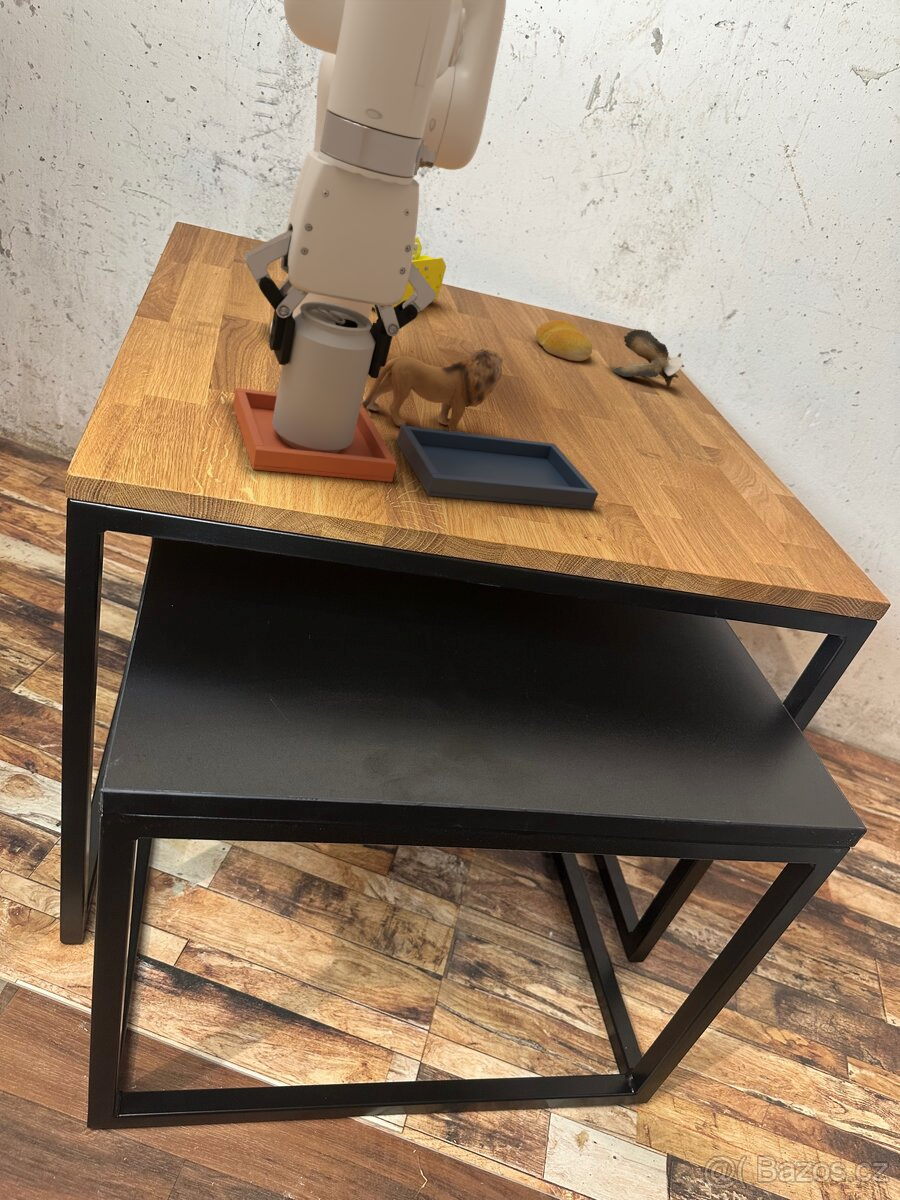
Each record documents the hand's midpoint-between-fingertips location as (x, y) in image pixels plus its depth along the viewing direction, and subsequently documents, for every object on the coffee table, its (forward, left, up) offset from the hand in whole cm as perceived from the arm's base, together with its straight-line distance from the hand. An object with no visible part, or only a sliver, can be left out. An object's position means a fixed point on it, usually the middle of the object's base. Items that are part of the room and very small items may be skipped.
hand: (326, 364), depth 77 cm
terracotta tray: (0, 0, -8) cm, 8 cm away
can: (0, 0, -7) cm, 7 cm away
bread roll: (-41, +47, -8) cm, 63 cm away
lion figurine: (-8, +14, -8) cm, 18 cm away
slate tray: (+3, +18, -8) cm, 20 cm away
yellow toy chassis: (-50, +23, -8) cm, 56 cm away
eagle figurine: (-34, +58, -8) cm, 68 cm away
